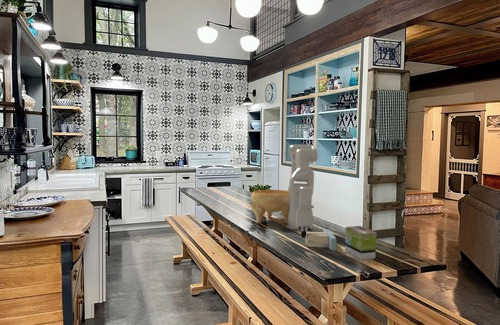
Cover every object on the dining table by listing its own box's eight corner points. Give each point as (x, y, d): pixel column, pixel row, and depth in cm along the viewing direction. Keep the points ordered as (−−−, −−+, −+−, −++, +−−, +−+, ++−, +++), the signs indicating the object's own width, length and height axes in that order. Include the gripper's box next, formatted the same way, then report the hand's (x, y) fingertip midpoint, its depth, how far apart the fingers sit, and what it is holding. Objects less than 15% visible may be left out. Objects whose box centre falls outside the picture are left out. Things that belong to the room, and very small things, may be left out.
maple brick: (305, 242, 225) (306, 231, 224) (324, 243, 225) (325, 232, 225) (307, 246, 217) (308, 235, 216) (327, 247, 217) (328, 235, 217)
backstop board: (322, 240, 231) (323, 229, 231) (327, 240, 231) (328, 229, 231) (330, 250, 211) (331, 238, 211) (335, 250, 211) (336, 238, 211)
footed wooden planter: (294, 217, 296) (295, 188, 294) (295, 227, 261) (297, 195, 260) (252, 214, 299) (253, 186, 298) (248, 224, 265) (249, 193, 263)
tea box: (343, 251, 210) (345, 226, 209) (358, 250, 213) (359, 225, 212) (360, 260, 196) (362, 233, 195) (375, 258, 199) (377, 231, 198)
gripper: (316, 206, 223) (314, 236, 224) (291, 205, 223) (290, 235, 224) (318, 209, 216) (317, 239, 217) (293, 208, 215) (291, 238, 217)
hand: (303, 237), depth 220 cm, fingers closed
